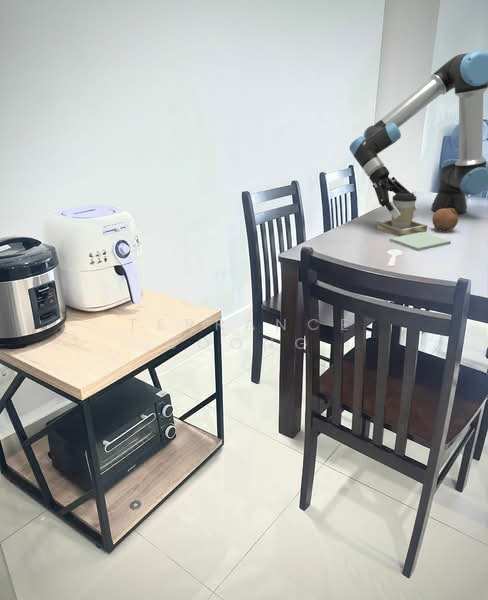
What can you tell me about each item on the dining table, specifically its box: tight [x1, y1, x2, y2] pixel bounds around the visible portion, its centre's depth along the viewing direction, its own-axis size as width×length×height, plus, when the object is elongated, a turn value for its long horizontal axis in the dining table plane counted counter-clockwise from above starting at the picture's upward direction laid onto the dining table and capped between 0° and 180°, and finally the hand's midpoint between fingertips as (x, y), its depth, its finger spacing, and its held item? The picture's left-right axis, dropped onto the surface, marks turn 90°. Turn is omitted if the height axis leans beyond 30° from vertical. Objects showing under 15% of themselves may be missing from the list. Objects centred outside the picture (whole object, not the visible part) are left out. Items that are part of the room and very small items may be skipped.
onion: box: [431, 208, 459, 232], centre depth 175 cm, size 10×9×10 cm
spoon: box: [386, 248, 404, 267], centre depth 149 cm, size 5×18×1 cm, turn 157°
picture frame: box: [375, 219, 428, 237], centre depth 178 cm, size 14×14×2 cm
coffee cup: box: [391, 191, 417, 229], centre depth 175 cm, size 9×9×15 cm
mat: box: [389, 232, 452, 252], centre depth 163 cm, size 16×14×1 cm
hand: (406, 213), depth 174 cm, fingers open, 13 cm apart
